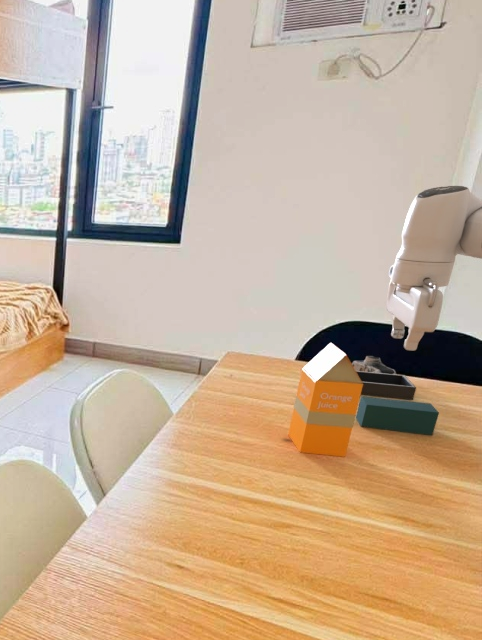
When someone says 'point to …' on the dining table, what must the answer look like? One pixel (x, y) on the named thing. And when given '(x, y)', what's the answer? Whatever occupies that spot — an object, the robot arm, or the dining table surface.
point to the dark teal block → (397, 415)
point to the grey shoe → (372, 366)
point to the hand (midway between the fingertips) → (402, 343)
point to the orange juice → (325, 404)
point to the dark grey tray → (386, 385)
